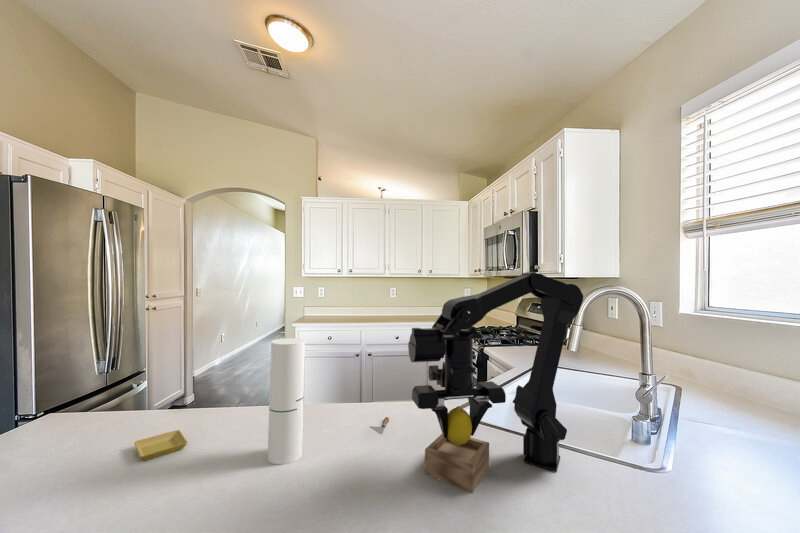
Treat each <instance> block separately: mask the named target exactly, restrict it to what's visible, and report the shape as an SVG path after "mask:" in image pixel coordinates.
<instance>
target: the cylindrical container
mask: <svg viewBox="0 0 800 533" xmlns="http://www.w3.org/2000/svg"><path fill="white" fill-rule="evenodd" d="M305 346H306V340H305V339H304V338H278V339H274V340H272V341H271V343H270V366H269V367H270V370H269V371H270V373H269V374H270V378H269V403H268V404H269V406H268V407H269V408H268V434H267V436H268V437H267V439H268V440H267V461H268V462H269V463H270V464H272V465H287V464H290V463H293V462H296V461H297V460H298V459H300V458H301V456H302V455H303V432H304V431H303V430H304V429H303V427H304V425H303V424H304V421H303V420H304V393H305V392H304V389H305V388H304V386H305V358H306V357H305V354H306V353H305V352H306V351H305V350H306V347H305Z"/></svg>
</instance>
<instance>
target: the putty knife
mask: <svg viewBox="0 0 800 533" xmlns="http://www.w3.org/2000/svg"><path fill="white" fill-rule="evenodd" d="M389 421H390V418H389V417H388V416H386V417H384V419H383V423H382V424H381V426H375V425H374V426H372V425H370V426H368V427H369V428H370V429H372V430H373V432H374V431H375V432H376V433H377V434H378V435H383V434H384V431H385V428H386V426H387V424H388V423H389Z"/></svg>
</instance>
